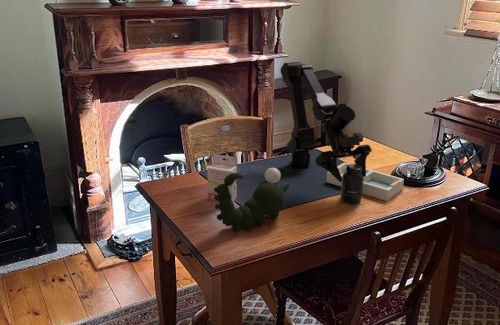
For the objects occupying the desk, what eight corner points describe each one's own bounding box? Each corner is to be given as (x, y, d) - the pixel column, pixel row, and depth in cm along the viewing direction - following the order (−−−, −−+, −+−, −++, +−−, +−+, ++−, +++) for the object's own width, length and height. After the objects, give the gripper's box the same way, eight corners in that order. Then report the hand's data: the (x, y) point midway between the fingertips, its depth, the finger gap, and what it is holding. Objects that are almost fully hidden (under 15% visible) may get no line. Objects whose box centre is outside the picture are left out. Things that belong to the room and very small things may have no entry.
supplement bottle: (348, 206, 159) (352, 172, 154) (335, 198, 164) (338, 164, 160) (365, 202, 162) (369, 168, 157) (352, 194, 167) (355, 161, 163)
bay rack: (326, 182, 176) (327, 171, 175) (343, 171, 185) (344, 161, 183) (387, 201, 162) (388, 189, 161) (402, 189, 171) (404, 178, 169)
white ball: (275, 178, 179) (276, 164, 177) (283, 184, 174) (283, 169, 172) (256, 182, 176) (256, 167, 174) (263, 188, 171) (264, 173, 169)
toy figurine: (231, 247, 139) (300, 214, 152) (225, 186, 131) (298, 157, 144) (212, 233, 146) (280, 203, 159) (206, 174, 138) (277, 147, 151)
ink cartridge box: (207, 200, 162) (206, 158, 156) (213, 194, 166) (212, 153, 161) (231, 204, 159) (231, 162, 154) (237, 198, 164) (237, 156, 158)
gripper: (322, 128, 154) (340, 173, 149) (371, 120, 162) (389, 163, 157) (308, 144, 164) (324, 187, 159) (354, 136, 171) (371, 177, 166)
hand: (353, 178), depth 160 cm, fingers open, 9 cm apart
